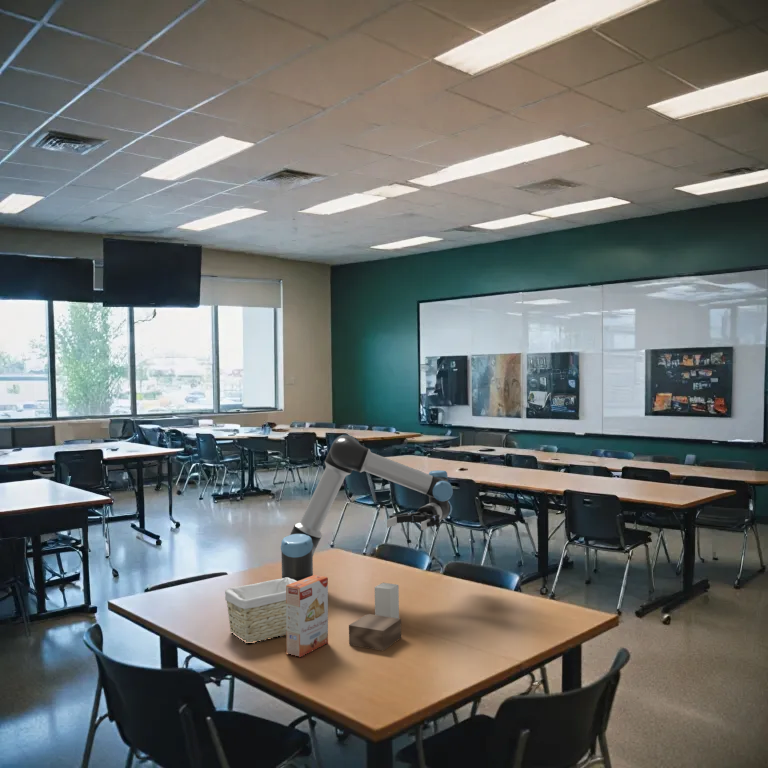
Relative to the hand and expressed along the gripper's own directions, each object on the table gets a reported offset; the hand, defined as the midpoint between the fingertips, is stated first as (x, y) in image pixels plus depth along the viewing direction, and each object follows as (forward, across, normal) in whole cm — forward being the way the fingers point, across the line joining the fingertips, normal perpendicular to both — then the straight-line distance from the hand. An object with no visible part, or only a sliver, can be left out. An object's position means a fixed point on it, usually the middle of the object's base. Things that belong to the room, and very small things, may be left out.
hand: (404, 524), depth 254 cm
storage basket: (+41, +30, -30) cm, 59 cm away
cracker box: (+48, +10, -30) cm, 57 cm away
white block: (+16, 0, -30) cm, 34 cm away
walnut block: (+34, -6, -30) cm, 45 cm away
